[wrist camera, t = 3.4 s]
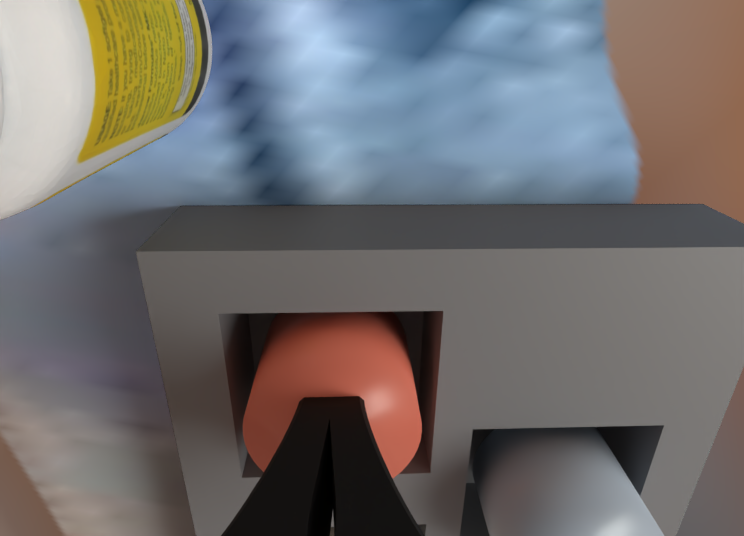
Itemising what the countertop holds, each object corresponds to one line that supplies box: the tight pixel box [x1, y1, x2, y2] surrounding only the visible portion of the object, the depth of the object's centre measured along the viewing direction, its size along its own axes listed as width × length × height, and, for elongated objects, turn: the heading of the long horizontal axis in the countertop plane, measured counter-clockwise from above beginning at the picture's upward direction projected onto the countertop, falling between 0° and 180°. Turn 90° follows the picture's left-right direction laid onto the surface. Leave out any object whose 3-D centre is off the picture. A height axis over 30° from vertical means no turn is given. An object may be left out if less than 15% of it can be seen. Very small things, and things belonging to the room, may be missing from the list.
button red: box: [243, 311, 422, 479], centre depth 13 cm, size 4×4×3 cm
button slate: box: [472, 427, 664, 536], centre depth 13 cm, size 4×4×3 cm
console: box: [136, 204, 744, 536], centre depth 15 cm, size 15×14×3 cm
